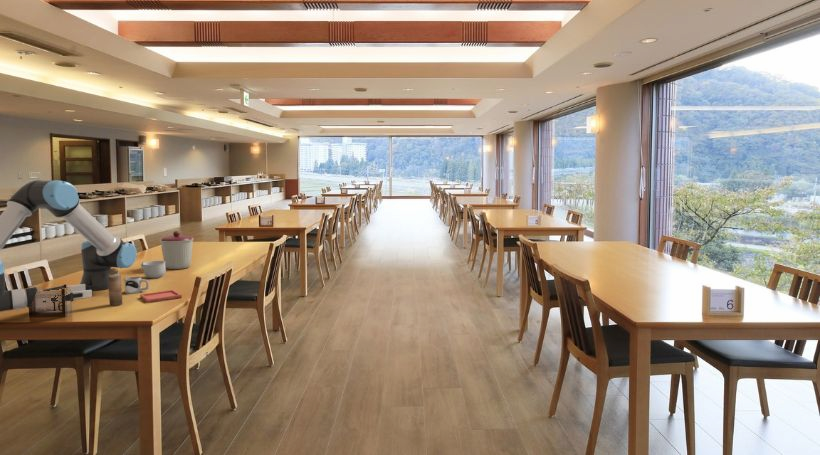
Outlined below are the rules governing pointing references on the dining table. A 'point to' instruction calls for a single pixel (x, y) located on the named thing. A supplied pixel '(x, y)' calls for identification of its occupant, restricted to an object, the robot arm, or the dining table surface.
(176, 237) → the canister
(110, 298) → the pepper mill
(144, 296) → the tray
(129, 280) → the mug
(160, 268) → the teacup
